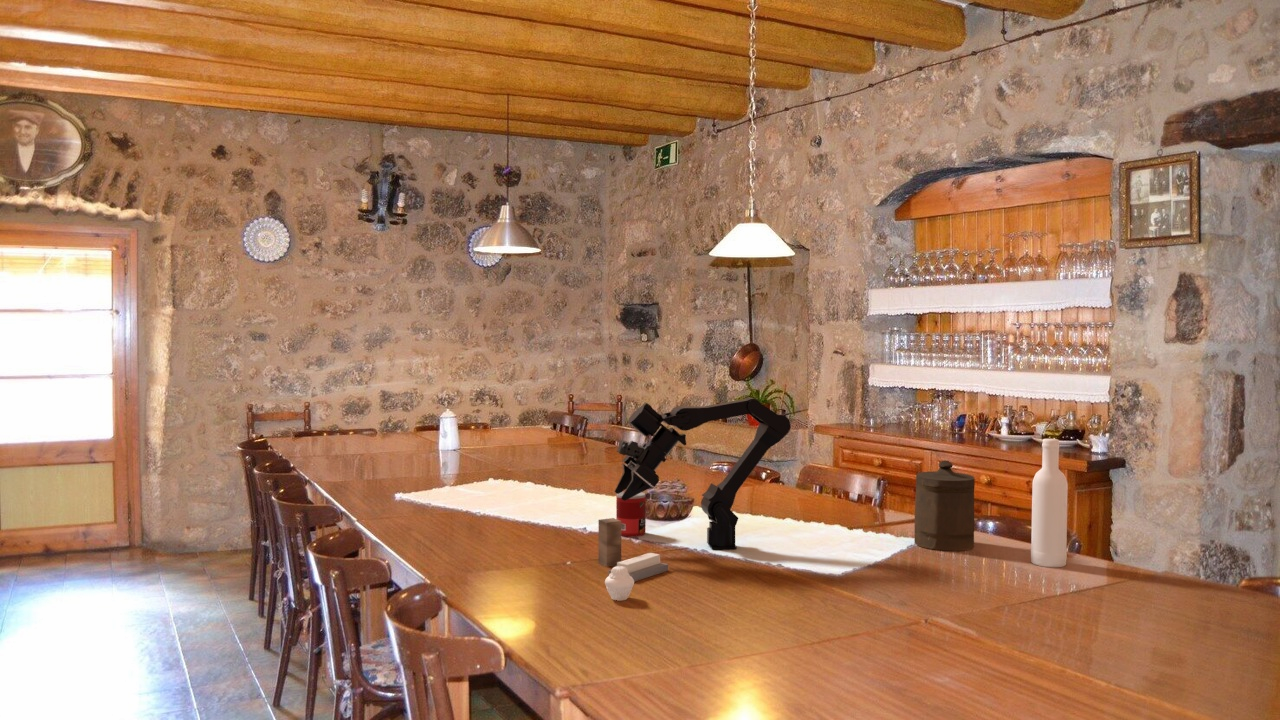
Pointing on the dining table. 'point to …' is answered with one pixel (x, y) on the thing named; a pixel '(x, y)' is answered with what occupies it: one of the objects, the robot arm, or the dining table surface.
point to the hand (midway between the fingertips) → (619, 496)
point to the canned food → (631, 514)
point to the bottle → (1049, 510)
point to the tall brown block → (609, 542)
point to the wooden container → (944, 509)
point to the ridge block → (643, 566)
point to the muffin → (619, 583)
